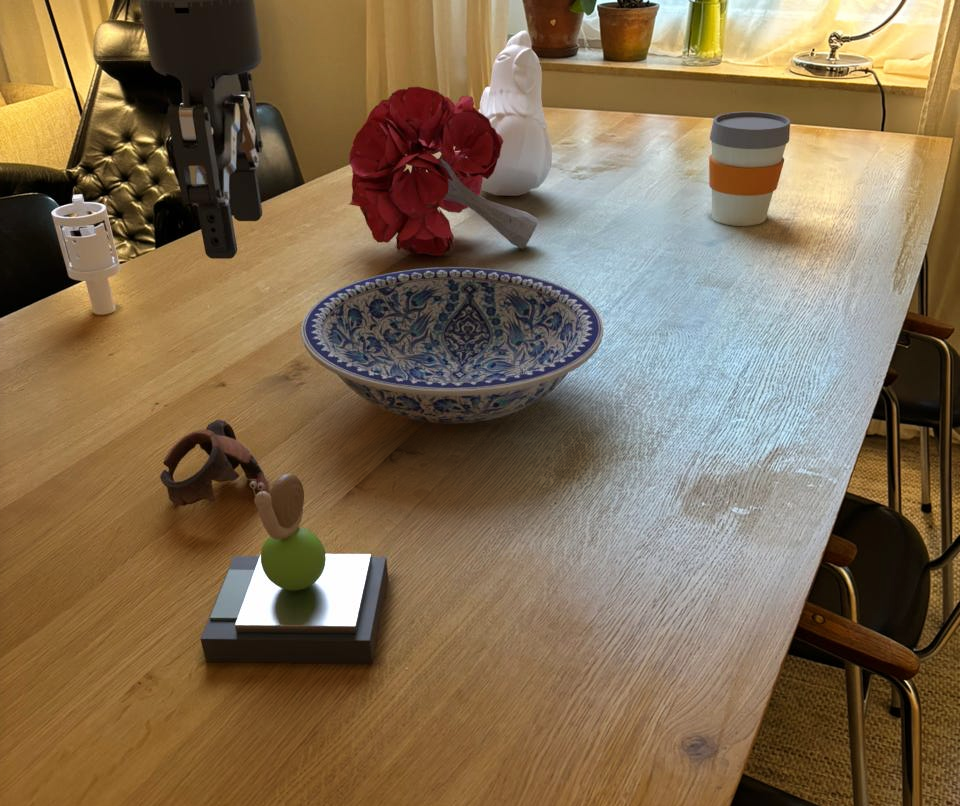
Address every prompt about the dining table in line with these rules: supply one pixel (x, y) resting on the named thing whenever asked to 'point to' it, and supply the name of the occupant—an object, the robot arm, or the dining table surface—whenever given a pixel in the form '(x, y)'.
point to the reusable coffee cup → (745, 165)
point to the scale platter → (308, 600)
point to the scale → (290, 647)
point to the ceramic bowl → (452, 340)
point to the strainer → (89, 250)
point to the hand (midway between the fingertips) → (236, 237)
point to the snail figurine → (288, 536)
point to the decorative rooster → (517, 120)
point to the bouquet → (449, 181)
